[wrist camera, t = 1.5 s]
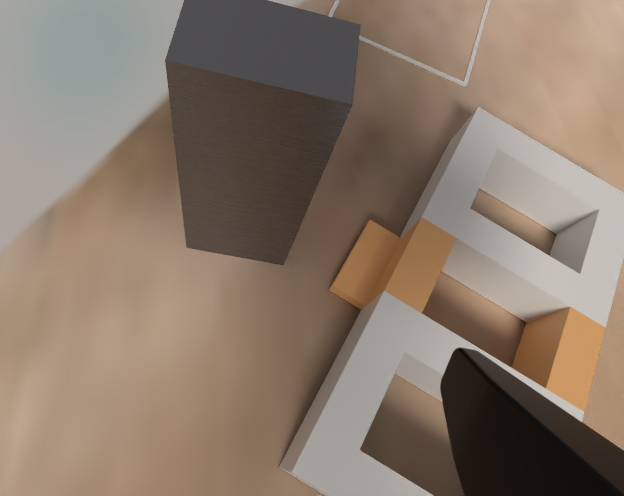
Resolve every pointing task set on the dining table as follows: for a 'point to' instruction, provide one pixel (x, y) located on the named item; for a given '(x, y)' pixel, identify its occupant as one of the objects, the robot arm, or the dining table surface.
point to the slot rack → (477, 276)
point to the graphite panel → (255, 118)
